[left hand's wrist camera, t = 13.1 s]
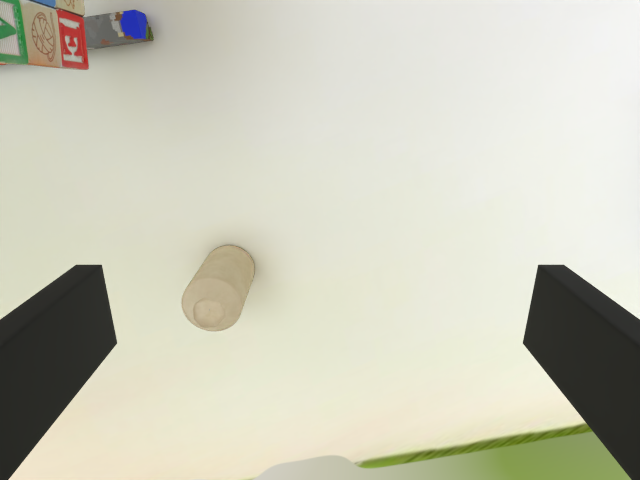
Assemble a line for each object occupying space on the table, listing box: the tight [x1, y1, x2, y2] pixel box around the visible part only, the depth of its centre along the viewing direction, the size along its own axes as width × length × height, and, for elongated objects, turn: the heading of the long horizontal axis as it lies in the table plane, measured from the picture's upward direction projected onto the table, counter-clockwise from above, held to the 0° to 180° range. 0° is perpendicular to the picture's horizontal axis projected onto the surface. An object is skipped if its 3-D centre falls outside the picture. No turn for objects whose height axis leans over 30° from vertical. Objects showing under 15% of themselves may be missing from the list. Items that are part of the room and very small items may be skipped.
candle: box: [182, 245, 255, 331], centre depth 41 cm, size 6×6×10 cm
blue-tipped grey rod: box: [83, 10, 153, 50], centre depth 37 cm, size 2×2×20 cm
